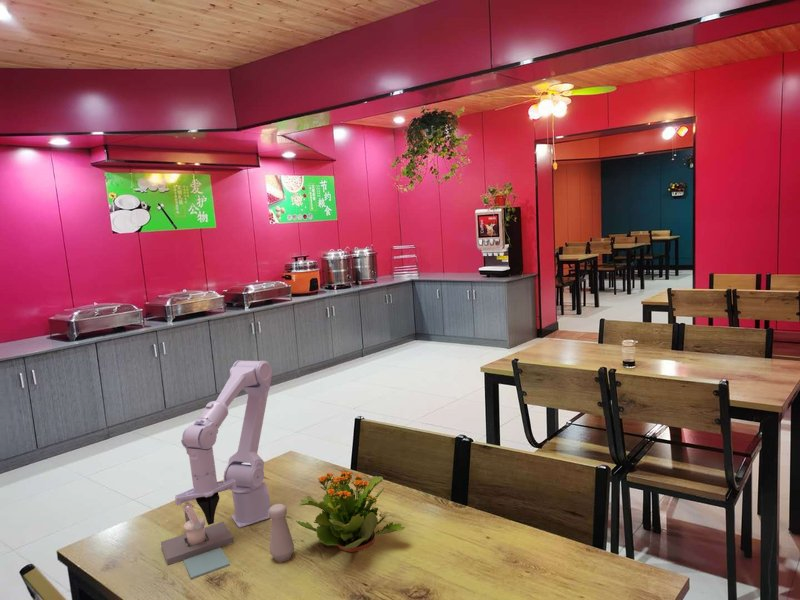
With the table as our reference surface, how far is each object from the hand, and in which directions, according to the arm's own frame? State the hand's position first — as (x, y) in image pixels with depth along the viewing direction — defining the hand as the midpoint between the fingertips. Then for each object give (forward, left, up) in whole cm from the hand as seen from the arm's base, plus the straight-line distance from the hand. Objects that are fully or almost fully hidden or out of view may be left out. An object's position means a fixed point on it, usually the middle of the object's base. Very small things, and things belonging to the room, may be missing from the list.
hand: (210, 522), depth 146 cm
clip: (+3, -6, 0) cm, 7 cm away
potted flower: (-30, +22, -7) cm, 38 cm away
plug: (+3, -4, -6) cm, 8 cm away
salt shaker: (-13, +16, -7) cm, 22 cm away
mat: (+3, +7, -6) cm, 10 cm away
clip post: (+3, -12, -6) cm, 14 cm away
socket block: (+3, -4, -6) cm, 8 cm away
